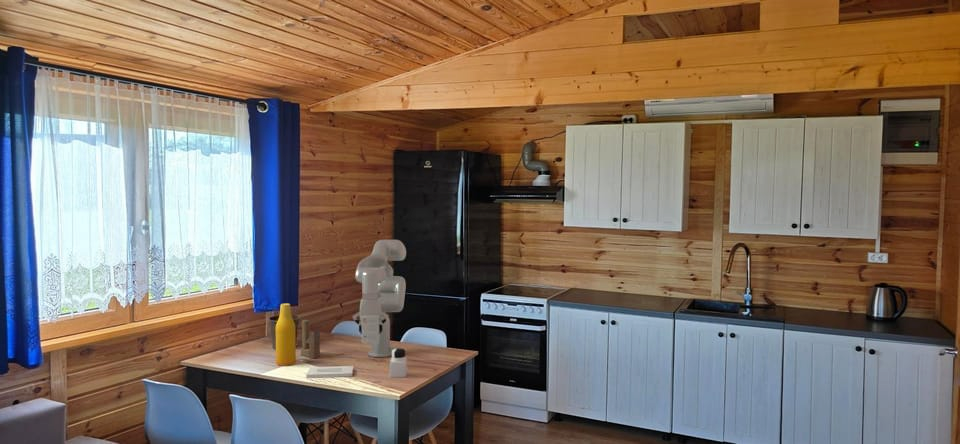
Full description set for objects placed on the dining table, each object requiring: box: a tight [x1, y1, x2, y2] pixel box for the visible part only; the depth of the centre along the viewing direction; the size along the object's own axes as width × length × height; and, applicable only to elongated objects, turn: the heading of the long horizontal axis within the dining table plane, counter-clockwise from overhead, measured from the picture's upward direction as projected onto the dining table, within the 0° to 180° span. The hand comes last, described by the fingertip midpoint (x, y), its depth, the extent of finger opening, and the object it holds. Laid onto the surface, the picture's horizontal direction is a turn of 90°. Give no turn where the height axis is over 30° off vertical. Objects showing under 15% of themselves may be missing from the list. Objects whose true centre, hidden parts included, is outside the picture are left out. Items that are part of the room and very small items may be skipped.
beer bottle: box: [275, 303, 297, 367], centre depth 313 cm, size 9×9×29 cm
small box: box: [361, 316, 380, 344], centre depth 305 cm, size 8×6×13 cm
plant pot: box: [267, 314, 301, 350], centre depth 344 cm, size 16×16×16 cm
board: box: [305, 365, 354, 379], centre depth 298 cm, size 20×12×2 cm, turn 97°
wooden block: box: [300, 319, 321, 359], centre depth 326 cm, size 4×11×18 cm, turn 54°
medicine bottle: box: [389, 348, 408, 378], centre depth 295 cm, size 7×7×12 cm
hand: (370, 332), depth 306 cm, fingers closed on small box, 8 cm apart
